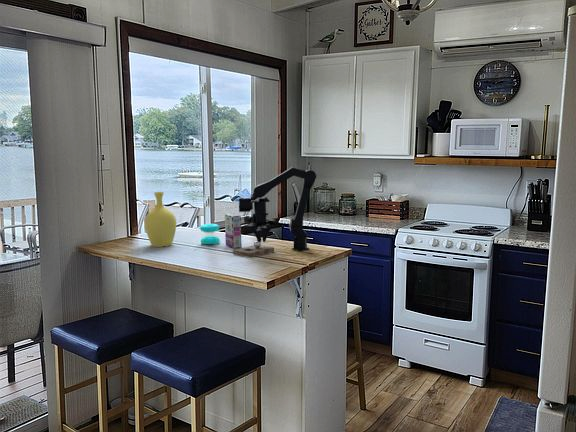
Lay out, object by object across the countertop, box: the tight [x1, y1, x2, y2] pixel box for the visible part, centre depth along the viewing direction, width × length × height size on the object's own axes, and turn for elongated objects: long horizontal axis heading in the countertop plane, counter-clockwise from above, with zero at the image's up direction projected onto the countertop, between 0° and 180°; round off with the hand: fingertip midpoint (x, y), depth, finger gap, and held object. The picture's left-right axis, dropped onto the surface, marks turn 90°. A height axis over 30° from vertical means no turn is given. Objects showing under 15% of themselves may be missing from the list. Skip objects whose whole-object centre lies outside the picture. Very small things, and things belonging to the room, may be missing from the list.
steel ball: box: [253, 240, 262, 248], centre depth 242 cm, size 4×4×4 cm
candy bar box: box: [224, 213, 243, 249], centre depth 255 cm, size 11×5×16 cm, turn 27°
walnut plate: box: [232, 244, 275, 259], centre depth 240 cm, size 16×12×2 cm
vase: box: [144, 191, 177, 248], centre depth 262 cm, size 16×16×28 cm
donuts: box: [199, 223, 221, 245], centre depth 265 cm, size 10×10×10 cm
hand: (261, 242), depth 244 cm, fingers open, 3 cm apart
